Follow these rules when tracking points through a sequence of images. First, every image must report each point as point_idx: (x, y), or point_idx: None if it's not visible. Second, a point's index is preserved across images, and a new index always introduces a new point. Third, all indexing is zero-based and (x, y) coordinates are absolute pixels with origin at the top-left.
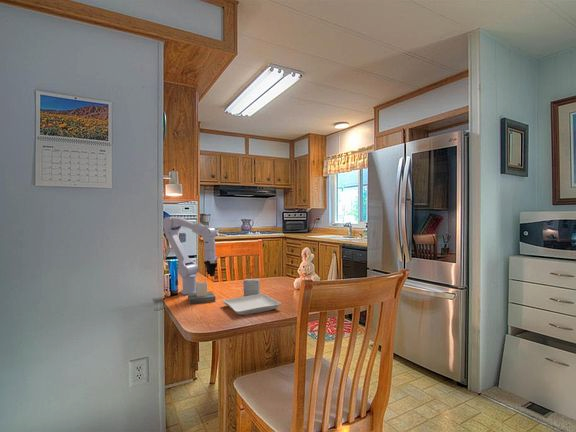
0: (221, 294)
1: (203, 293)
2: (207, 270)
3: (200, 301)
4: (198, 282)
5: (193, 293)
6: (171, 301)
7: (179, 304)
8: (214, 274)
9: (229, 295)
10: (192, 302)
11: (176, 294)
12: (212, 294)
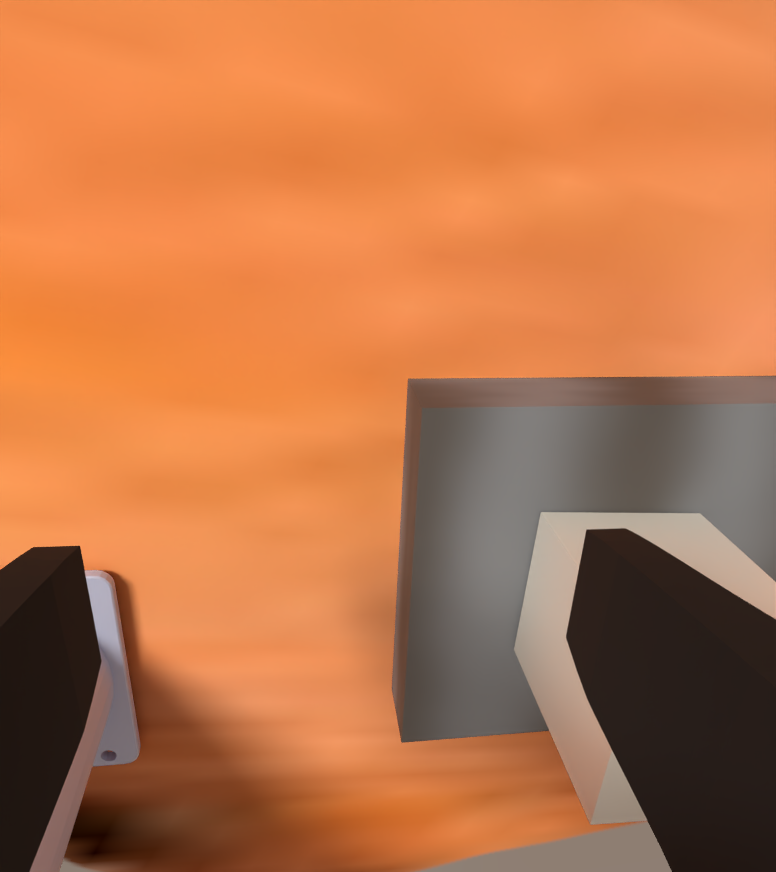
0: (405, 187)
1: None
2: (44, 808)
3: None
4: (602, 787)
5: (416, 678)
6: (427, 831)
7: None
8: (663, 551)
9: (576, 45)
10: None
11: None
12: (667, 425)
